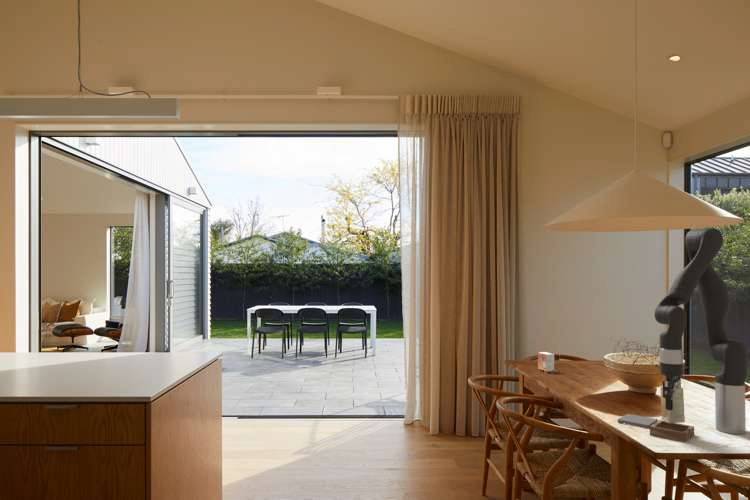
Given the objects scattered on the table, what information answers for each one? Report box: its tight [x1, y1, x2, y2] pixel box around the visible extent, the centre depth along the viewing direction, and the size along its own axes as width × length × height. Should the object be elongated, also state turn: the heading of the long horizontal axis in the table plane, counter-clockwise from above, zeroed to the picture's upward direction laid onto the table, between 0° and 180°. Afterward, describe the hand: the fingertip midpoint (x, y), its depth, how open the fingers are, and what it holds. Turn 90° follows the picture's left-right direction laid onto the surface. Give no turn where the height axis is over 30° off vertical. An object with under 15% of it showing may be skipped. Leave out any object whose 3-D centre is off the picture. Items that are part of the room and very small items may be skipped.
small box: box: [537, 351, 555, 371], centre depth 308 cm, size 8×6×10 cm
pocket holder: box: [649, 419, 695, 443], centre depth 191 cm, size 11×11×3 cm
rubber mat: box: [617, 413, 659, 429], centre depth 206 cm, size 11×11×1 cm
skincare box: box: [659, 385, 686, 424], centre depth 191 cm, size 6×4×12 cm
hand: (672, 407), depth 191 cm, fingers closed on skincare box, 7 cm apart
